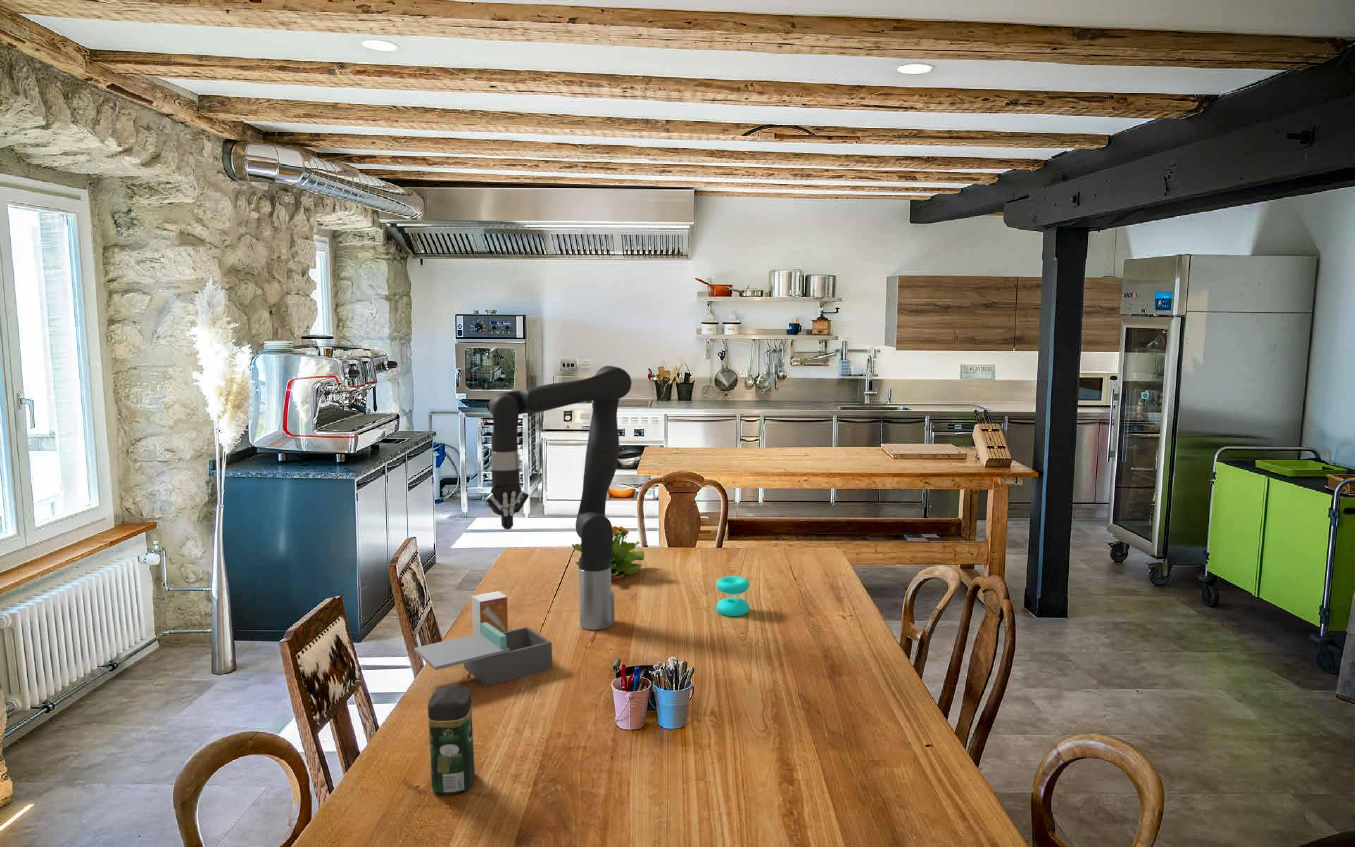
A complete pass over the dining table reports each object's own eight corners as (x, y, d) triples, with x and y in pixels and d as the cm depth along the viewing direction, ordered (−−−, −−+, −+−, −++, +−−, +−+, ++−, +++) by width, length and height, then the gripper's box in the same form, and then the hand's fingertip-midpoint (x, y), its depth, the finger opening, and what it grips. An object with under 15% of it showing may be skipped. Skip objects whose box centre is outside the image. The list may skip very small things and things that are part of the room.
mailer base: (528, 651, 235) (527, 626, 234) (552, 668, 224) (551, 642, 223) (463, 667, 225) (462, 641, 224) (485, 686, 214) (484, 658, 213)
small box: (481, 648, 238) (479, 601, 236) (472, 640, 243) (470, 595, 242) (509, 641, 242) (507, 596, 241) (500, 634, 248) (498, 590, 246)
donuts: (753, 576, 267) (743, 586, 258) (753, 608, 268) (743, 619, 259) (722, 573, 271) (711, 582, 262) (722, 604, 272) (711, 615, 263)
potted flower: (640, 588, 289) (640, 536, 287) (569, 588, 289) (567, 536, 287) (644, 566, 314) (644, 518, 312) (578, 566, 314) (577, 518, 312)
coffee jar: (436, 771, 174) (433, 681, 172) (477, 769, 175) (474, 679, 172) (427, 797, 164) (423, 703, 162) (470, 795, 165) (466, 701, 163)
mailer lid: (485, 634, 228) (485, 620, 227) (509, 651, 216) (509, 636, 216) (414, 650, 217) (413, 636, 217) (435, 670, 205) (434, 654, 205)
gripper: (521, 462, 247) (523, 522, 249) (477, 467, 240) (479, 529, 242) (533, 466, 241) (535, 527, 243) (488, 471, 233) (490, 535, 236)
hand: (507, 528), depth 242 cm, fingers closed
